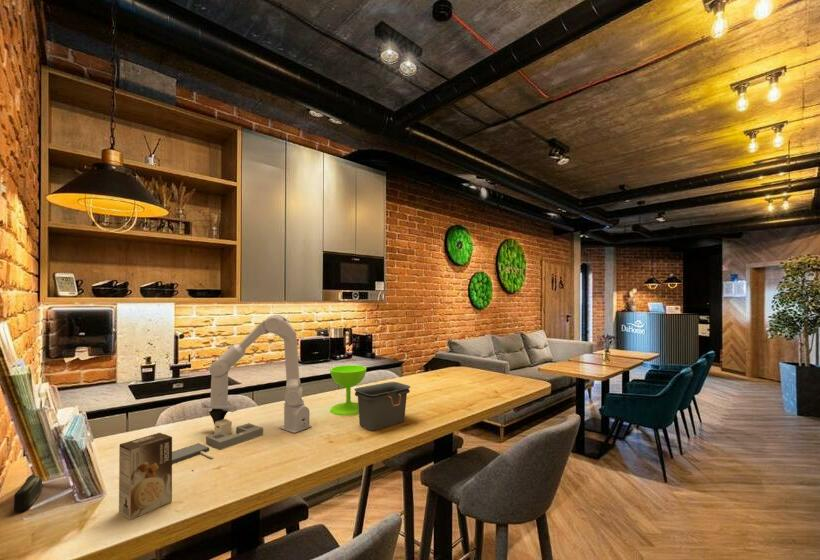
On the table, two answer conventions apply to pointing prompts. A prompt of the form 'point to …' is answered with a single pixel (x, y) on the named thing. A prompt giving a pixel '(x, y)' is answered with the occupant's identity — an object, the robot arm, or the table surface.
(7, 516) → the table surface
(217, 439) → the grey compartment tray
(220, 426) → the beige cube
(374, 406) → the storage bin
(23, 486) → the black rounded bar
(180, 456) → the grey flat pronged bracket
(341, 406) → the wineglass
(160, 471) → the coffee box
